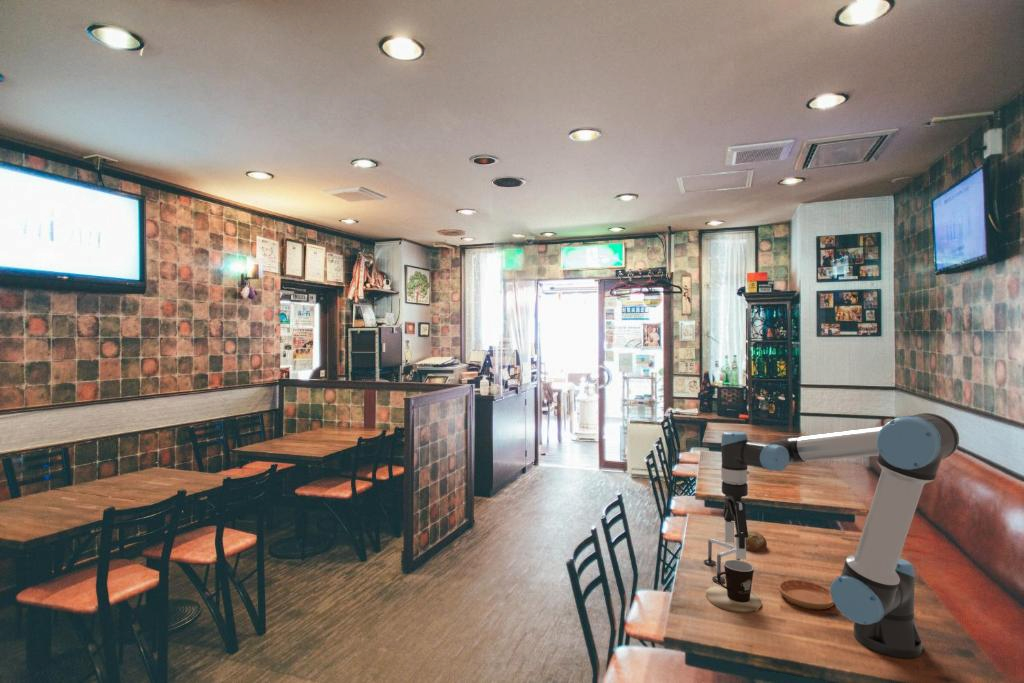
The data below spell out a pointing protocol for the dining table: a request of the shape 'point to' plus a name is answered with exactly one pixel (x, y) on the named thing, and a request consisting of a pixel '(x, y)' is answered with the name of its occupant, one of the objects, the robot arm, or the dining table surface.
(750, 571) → the coffee mug
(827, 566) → the dining table surface
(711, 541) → the bent wire
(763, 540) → the bread roll
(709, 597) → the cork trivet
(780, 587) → the saucer
